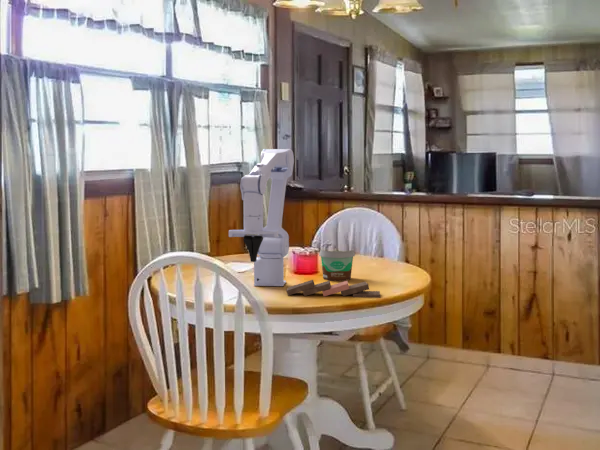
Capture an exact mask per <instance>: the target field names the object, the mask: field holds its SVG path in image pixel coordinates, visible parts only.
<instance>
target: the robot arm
mask: <svg viewBox="0 0 600 450" xmlns="http://www.w3.org/2000/svg"><path fill="white" fill-rule="evenodd" d="M294 163H295V157H294V152H293V150H292V149H291V148H272V149H271V148H263V149H262V150H261V153H260V163H259V162H258V163H256V164H255V165H254V167H253V168H252V170H251V171H250V173H249V174H245V175H244V176H242V177H241V178H240V184H239V187H240V192H241V200H242V201H243V229H229V230H228V237H229V238H235V237H236V238H237V237H238V238H243V243H244V244H245V247H246V249H247V253H248V254H249V255H248V256H249V258H250V262H252V263H254V264H253V286H255V287H256V286H257V287H258V286H259V287H260V286H261V287H262V286H263V287H264V286H265V287H283V286H285V284H286V283H287V280H284V279H285V278H284V277H285V276H284V274H285V273H284V270H285V269H284V264H285V263H284V259H285V257H286V256H288V253H289V250H290V249H289V248H290V242H289V241H290V240H289V239H290V236H289V234H288V232H287V230H285V229H284V228H283V227H282V224H283V215H284V214H283V213H284V208H285V198H286V197H285V196H286V190H287V182H288V179H289V178H291V177H292V175H293V171H294V165H295V164H294ZM270 179H271V186H270V194H269V203H268V210H267V218H266V219H267V220H266V225H265V226H264V207H263V206H264V194H266V189H267V186H268V185H267V183H268V181H269V180H270Z"/></svg>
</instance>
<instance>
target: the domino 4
mask: <svg viewBox="0 0 600 450" xmlns="http://www.w3.org/2000/svg"><path fill="white" fill-rule="evenodd" d="M369 286H370V285H369V283H367V281H362V282H359V283H355V284H350V285H349V288H350V289H347V290H344V291H341V292H340V294H341V295H342V296H343V297H345V296H350V295H353V294H354V293H357V292H361V291H370V287H369Z"/></svg>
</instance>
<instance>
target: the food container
mask: <svg viewBox="0 0 600 450" xmlns="http://www.w3.org/2000/svg"><path fill="white" fill-rule="evenodd" d="M318 254H319V257H320V258H321V270H322V271H321V272H322V279H323V280H325V281H330V282H344V281H349V280H351V277H352V270H353V269H352V267H353V261H354V260H353V259H354V257H355V256H356V254H355V250H354V248H352V249H351V250H344V251H343V250H332V251H331V250H324V249H323V250H322V249H320V251H319V253H318Z"/></svg>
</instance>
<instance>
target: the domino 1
mask: <svg viewBox="0 0 600 450" xmlns="http://www.w3.org/2000/svg"><path fill="white" fill-rule="evenodd" d="M314 285H316V283H315V281H314V279H311V280H307V281H304V282H302V283H301V282H300V283H298V284H295V285H291V286H289V287H288V288H287V289H286V293H287V296H292V295H295V294H298V293H300V292H303V291H304V290H308V289H311V288H313V287H314Z"/></svg>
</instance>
